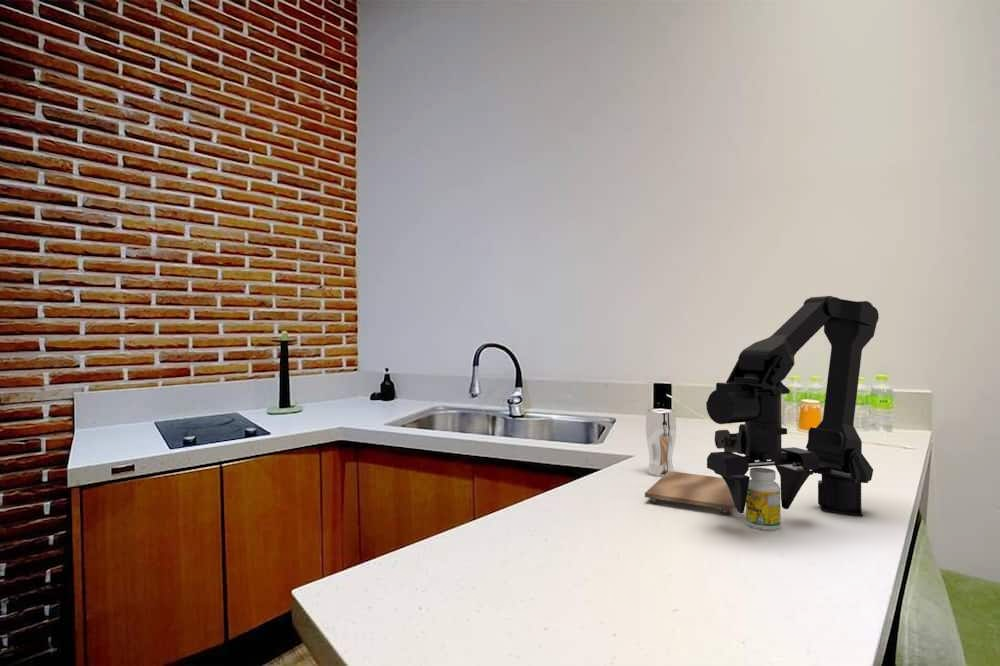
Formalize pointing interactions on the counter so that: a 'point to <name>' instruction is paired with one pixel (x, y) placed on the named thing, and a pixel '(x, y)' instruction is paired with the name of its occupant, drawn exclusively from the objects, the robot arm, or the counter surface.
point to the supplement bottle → (763, 500)
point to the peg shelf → (692, 491)
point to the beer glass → (660, 440)
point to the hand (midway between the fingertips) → (762, 510)
